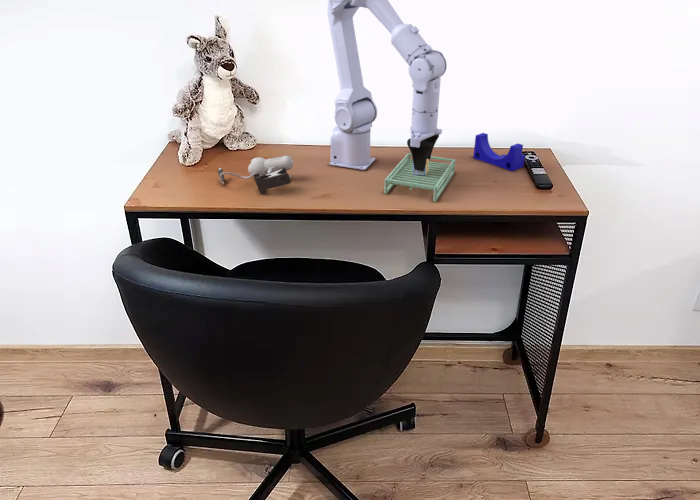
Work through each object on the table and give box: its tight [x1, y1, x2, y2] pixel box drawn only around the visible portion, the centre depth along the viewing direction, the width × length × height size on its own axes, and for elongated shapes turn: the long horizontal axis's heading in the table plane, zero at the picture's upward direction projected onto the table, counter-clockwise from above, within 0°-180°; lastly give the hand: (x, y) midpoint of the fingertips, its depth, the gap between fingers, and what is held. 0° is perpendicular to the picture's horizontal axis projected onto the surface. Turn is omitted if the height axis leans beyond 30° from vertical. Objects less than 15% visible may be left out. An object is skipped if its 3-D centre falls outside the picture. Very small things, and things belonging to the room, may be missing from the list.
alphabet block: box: [412, 159, 429, 176], centre depth 145 cm, size 3×3×3 cm
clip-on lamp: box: [217, 155, 294, 195], centre depth 145 cm, size 12×6×18 cm
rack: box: [383, 152, 456, 203], centre depth 147 cm, size 18×12×4 cm, turn 159°
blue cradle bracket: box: [473, 132, 526, 172], centre depth 158 cm, size 12×4×6 cm, turn 42°
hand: (421, 167), depth 145 cm, fingers closed on alphabet block, 3 cm apart
